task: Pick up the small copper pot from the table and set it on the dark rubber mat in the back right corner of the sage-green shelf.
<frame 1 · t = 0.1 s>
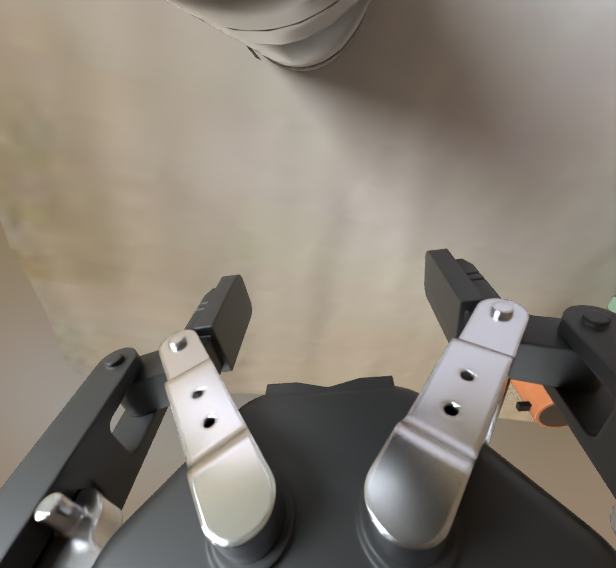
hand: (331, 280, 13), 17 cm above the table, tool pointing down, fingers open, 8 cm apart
copper pot: (524, 361, 38), on the table
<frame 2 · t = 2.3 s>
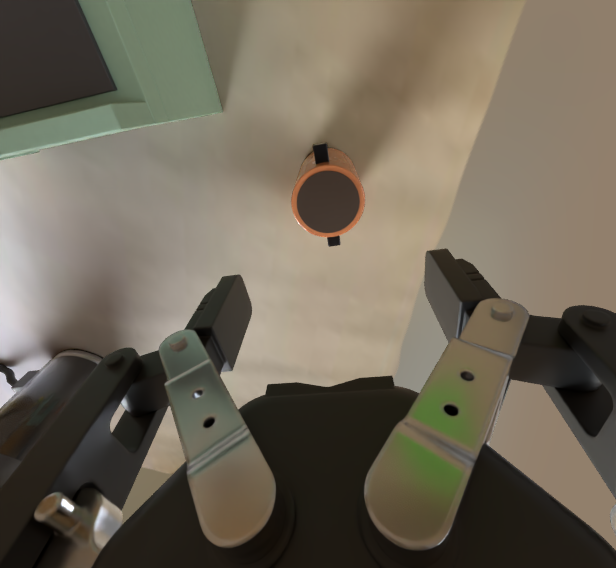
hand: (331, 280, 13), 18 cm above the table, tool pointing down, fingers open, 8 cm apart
shelf: (65, 19, 22), on the table
copper pot: (327, 178, 28), on the table
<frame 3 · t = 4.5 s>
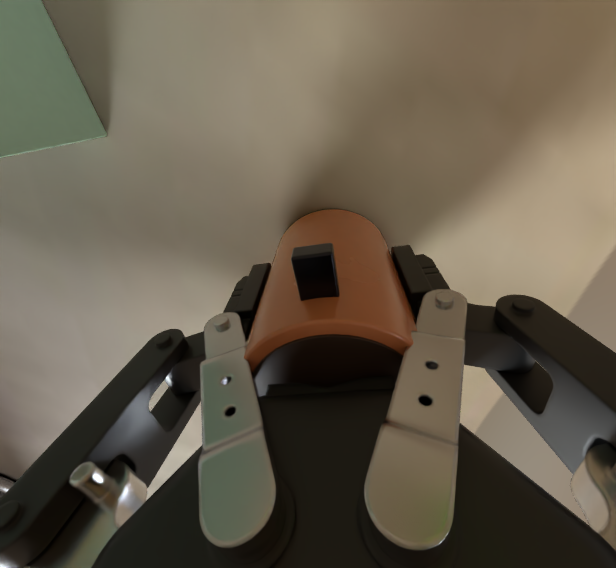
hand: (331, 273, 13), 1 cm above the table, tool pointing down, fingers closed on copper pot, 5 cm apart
copper pot: (331, 262, 14), on the table, touching gripper
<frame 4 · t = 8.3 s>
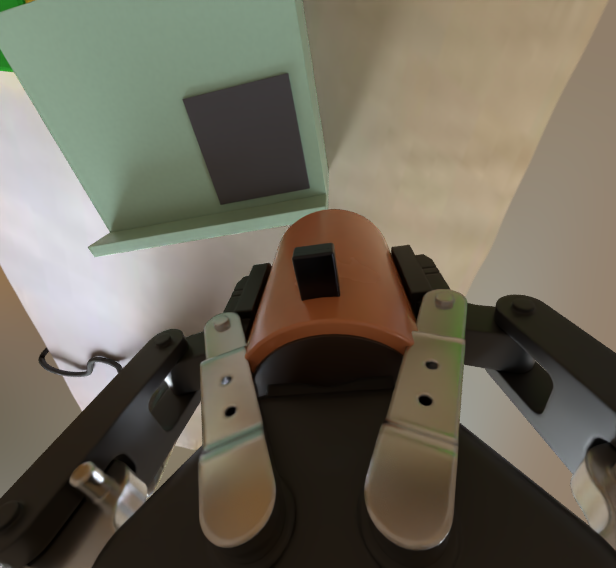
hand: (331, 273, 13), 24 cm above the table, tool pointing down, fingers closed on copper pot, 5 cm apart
shelf: (224, 113, 32), on the table
copper pot: (332, 262, 14), point 23 cm above the table, touching gripper
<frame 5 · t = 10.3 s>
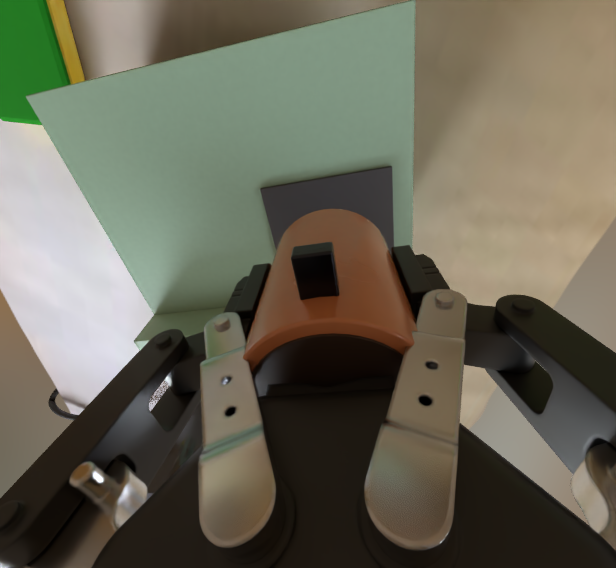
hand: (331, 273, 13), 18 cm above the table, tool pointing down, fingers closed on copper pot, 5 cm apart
shelf: (276, 169, 28), on the table
copper pot: (331, 262, 14), point 17 cm above the table, touching gripper
dish sponge: (30, 24, 24), on the table
when the fingers open (13 cm above the table, at t = 12.0 s): copper pot stays where it is, resting on shelf.
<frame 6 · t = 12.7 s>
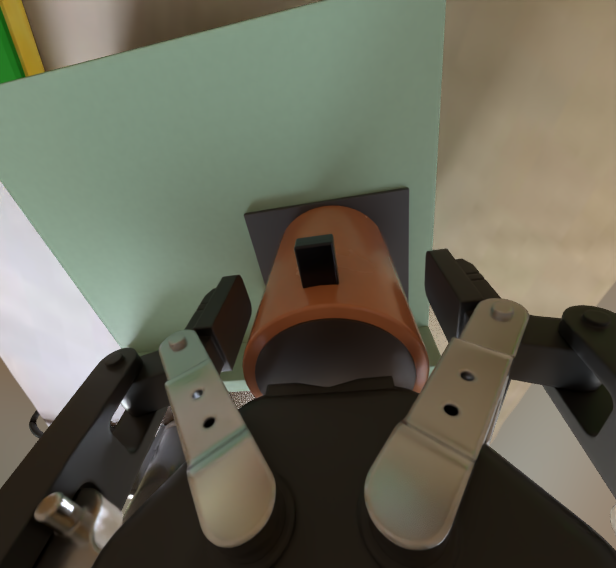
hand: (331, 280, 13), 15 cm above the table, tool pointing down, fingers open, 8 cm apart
shelf: (269, 180, 25), on the table
copper pot: (331, 257, 15), point 12 cm above the table, touching shelf
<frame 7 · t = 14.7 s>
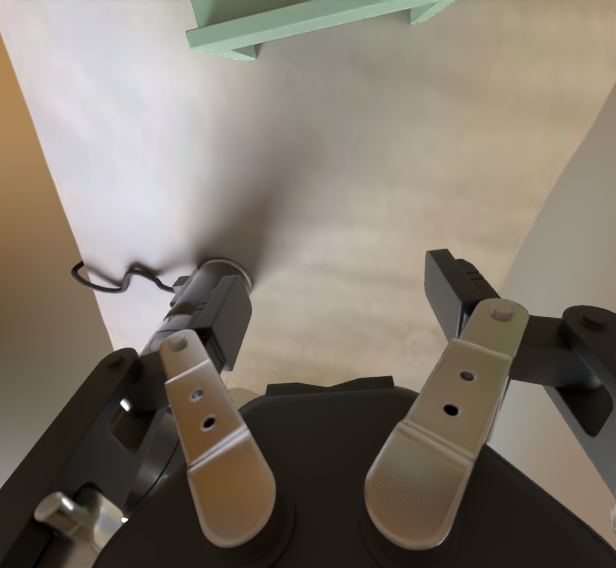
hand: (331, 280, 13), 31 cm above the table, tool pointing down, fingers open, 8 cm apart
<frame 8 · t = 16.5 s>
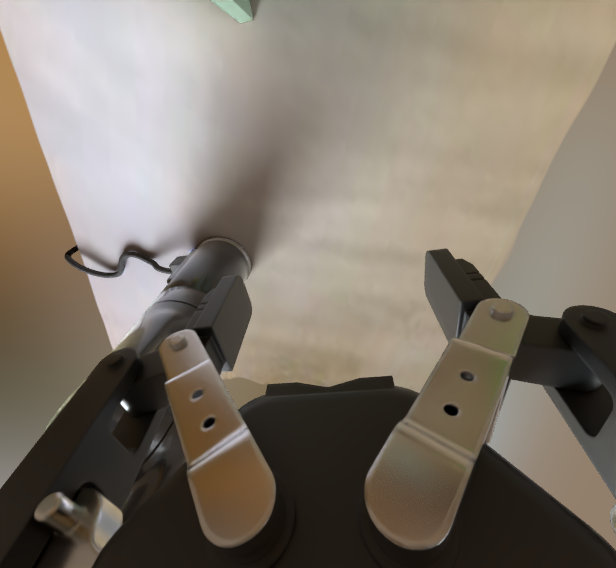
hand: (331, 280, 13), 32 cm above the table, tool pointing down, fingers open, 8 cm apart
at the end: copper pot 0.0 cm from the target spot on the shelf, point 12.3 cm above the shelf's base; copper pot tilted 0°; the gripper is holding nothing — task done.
